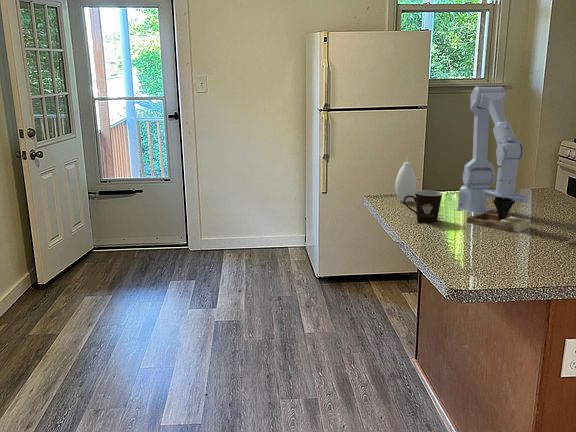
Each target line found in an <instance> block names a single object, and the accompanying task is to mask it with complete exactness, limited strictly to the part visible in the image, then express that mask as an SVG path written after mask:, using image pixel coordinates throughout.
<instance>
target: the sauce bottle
mask: <svg viewBox="0 0 576 432" xmlns="http://www.w3.org/2000/svg"><path fill="white" fill-rule="evenodd" d="M408 157H409V156H408V155H407V156H406V161H405V162H403V163H402V164H403V165H402V166H401V167H400V168H399V170H398V173H397V176H396V179H395V183H394V188H395V189H394V190H395V194H396V197H397V199H399V200H400V201H401V202H403V203H404V198H405V197H406V196H408V195H411V196H414V197H415V195H416V189H417V182H416V181H417V179H416V175H415V171H414V169H413V167H412V165H411V162H408V159H409V158H408ZM412 199H413V198H412V197H408V198H406V200H405V202H406V203H408V202H410V200H412Z"/></svg>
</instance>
